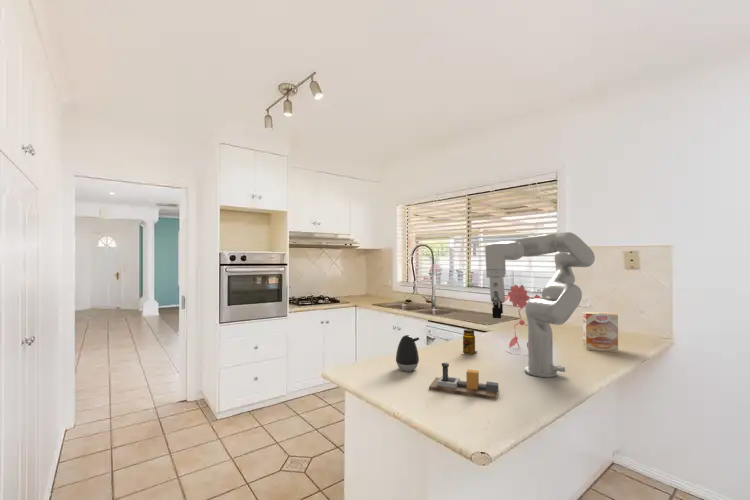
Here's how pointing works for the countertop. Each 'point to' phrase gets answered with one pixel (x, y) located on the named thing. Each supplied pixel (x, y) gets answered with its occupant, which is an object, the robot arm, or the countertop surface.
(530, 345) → the robot arm
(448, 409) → the countertop surface
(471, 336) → the condiment
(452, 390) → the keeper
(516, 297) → the red flower sprig
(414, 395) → the countertop surface
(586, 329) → the coffeecake box
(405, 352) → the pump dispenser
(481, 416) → the countertop surface
